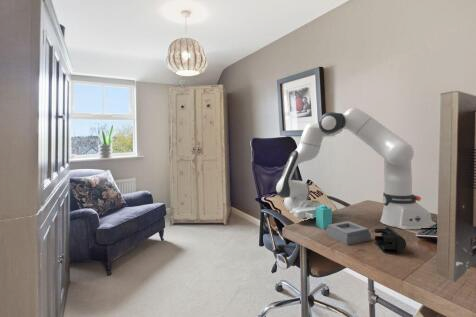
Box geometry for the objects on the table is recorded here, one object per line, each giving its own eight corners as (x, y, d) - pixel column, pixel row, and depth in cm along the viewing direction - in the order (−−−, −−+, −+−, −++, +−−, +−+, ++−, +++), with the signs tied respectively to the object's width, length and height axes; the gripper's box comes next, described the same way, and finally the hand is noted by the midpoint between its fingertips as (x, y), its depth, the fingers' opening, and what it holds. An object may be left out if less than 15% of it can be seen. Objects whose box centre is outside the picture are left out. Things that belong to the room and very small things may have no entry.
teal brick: (324, 224, 125) (324, 203, 125) (332, 227, 121) (331, 206, 120) (316, 225, 124) (316, 205, 123) (323, 229, 119) (322, 207, 118)
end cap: (406, 254, 91) (406, 236, 90) (384, 254, 92) (384, 235, 91) (393, 243, 101) (394, 226, 100) (374, 242, 102) (374, 226, 101)
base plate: (348, 230, 116) (348, 220, 115) (370, 239, 105) (370, 228, 104) (326, 234, 112) (326, 224, 111) (347, 245, 100) (346, 233, 100)
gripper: (287, 205, 133) (303, 211, 120) (320, 200, 140) (338, 206, 127) (287, 217, 133) (303, 225, 120) (320, 211, 140) (338, 218, 127)
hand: (321, 215), depth 123 cm, fingers open, 8 cm apart
